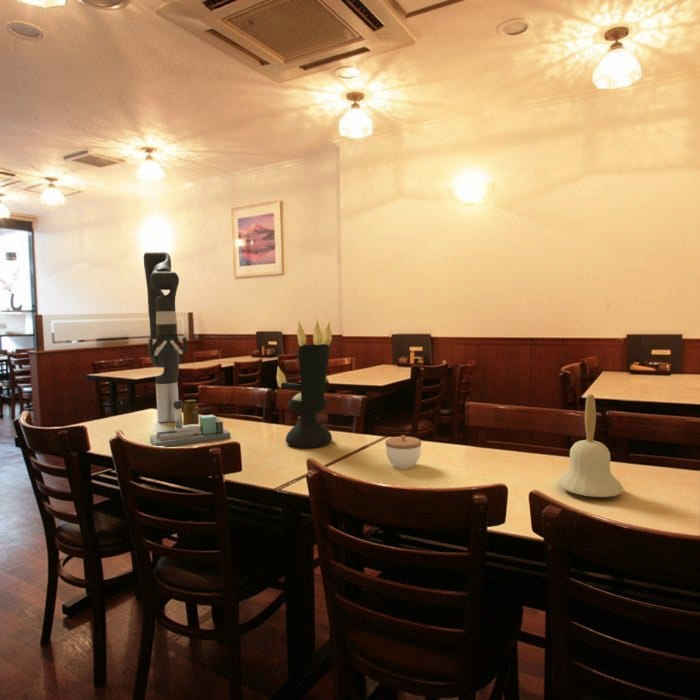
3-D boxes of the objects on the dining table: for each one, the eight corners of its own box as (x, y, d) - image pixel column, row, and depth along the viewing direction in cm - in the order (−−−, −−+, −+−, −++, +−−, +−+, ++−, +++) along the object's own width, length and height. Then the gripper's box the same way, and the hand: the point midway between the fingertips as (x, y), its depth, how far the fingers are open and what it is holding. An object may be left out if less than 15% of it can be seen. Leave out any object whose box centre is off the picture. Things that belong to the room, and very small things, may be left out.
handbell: (637, 501, 121) (639, 398, 119) (577, 505, 119) (578, 400, 117) (599, 480, 136) (600, 388, 134) (545, 483, 135) (546, 390, 133)
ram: (173, 434, 190) (171, 399, 189) (200, 430, 195) (199, 397, 194) (175, 436, 187) (173, 401, 186) (203, 432, 192) (201, 398, 191)
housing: (200, 431, 196) (199, 416, 195) (213, 429, 198) (212, 414, 198) (203, 433, 192) (202, 418, 191) (216, 432, 194) (215, 416, 194)
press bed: (150, 441, 190) (149, 425, 190) (221, 431, 204) (220, 416, 203) (155, 448, 179) (155, 432, 179) (230, 437, 193) (229, 422, 192)
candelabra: (324, 434, 195) (321, 318, 191) (349, 447, 175) (346, 318, 171) (277, 440, 187) (273, 319, 183) (297, 455, 167) (293, 319, 163)
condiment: (196, 426, 215) (195, 398, 214) (204, 429, 208) (203, 400, 208) (179, 428, 210) (178, 400, 209) (187, 432, 204) (185, 403, 203)
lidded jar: (385, 460, 158) (384, 431, 158) (419, 460, 158) (419, 430, 157) (386, 471, 148) (386, 440, 147) (423, 471, 147) (423, 439, 147)
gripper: (148, 323, 190) (150, 366, 191) (187, 322, 197) (189, 363, 198) (145, 323, 196) (147, 365, 197) (183, 322, 203) (185, 362, 204)
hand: (168, 364), depth 198 cm, fingers open, 8 cm apart
